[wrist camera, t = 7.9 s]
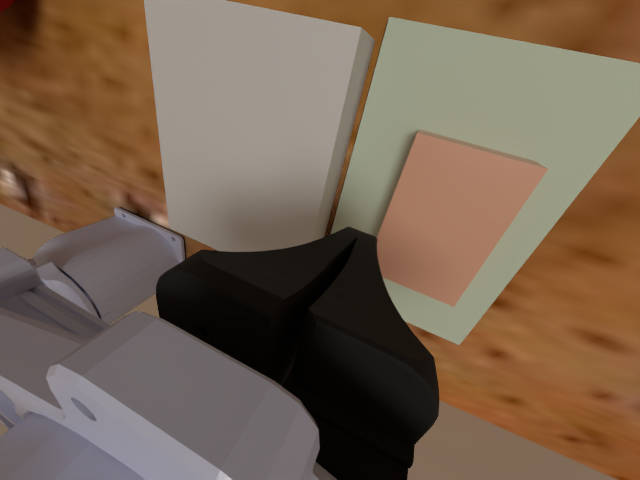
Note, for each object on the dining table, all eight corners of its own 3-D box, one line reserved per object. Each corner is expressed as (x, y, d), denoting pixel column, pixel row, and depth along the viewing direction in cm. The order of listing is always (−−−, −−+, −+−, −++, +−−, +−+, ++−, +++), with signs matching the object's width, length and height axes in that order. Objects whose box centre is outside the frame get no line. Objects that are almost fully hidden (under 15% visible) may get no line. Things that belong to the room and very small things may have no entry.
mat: (319, 279, 23) (317, 282, 23) (390, 19, 14) (389, 16, 13) (458, 341, 20) (459, 345, 20) (669, 71, 11) (676, 69, 11)
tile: (453, 306, 17) (452, 288, 18) (548, 168, 12) (535, 160, 13) (364, 269, 18) (370, 255, 20) (417, 132, 13) (419, 129, 15)
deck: (195, 216, 25) (169, 228, 23) (185, 0, 17) (142, -17, 15) (316, 268, 23) (301, 288, 20) (375, 40, 14) (361, 27, 12)
